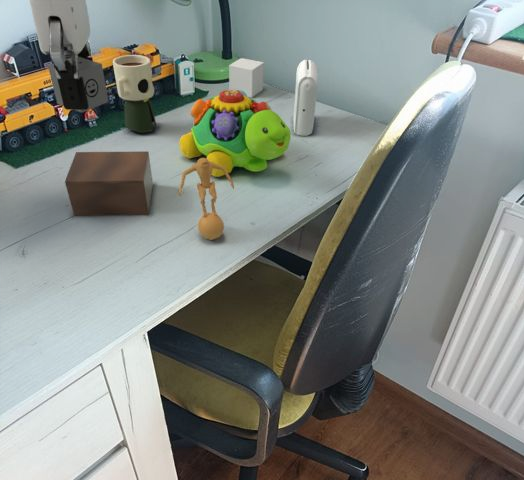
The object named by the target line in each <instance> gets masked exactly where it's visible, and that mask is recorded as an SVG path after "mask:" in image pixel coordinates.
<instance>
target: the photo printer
mask: <svg viewBox="0 0 524 480" xmlns="http://www.w3.org/2000/svg"><path fill="white" fill-rule="evenodd" d="M318 73H319V72H318V68H317V65H316V63H315V62H314V61H313V60H312V59H309V60H307V59H303V60H302V61H301V62H300V63H299V64H298V66H297V68H296V73H295V74H296V75H295V91H294V105H293V121H292V124H293V132H294V134H296V135H297V136H300V137H301V136H302V137H307V136H310V135H312V134H313V130H314V123H315V116H316V115H315V114H316V105H317V93H318V83H319V75H318Z"/></svg>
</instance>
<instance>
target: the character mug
mask: <svg viewBox="0 0 524 480" xmlns="http://www.w3.org/2000/svg"><path fill="white" fill-rule="evenodd" d="M112 65H113V66H112V67H113V71H114V78H115V83H116V91H117V95H118V97H119V98H120V99H122V100H124V104H123V105H124V126H125V128H126V129H127V130H130V131H132V132H136V133H147V132H151V131H154V128H157V122H156V117H155V112H154V109H153V106H152V105H153V104H152V102H151V98H153V96H154V95H155V87H154V84H153V79H152V78H153V70H152V63H151V59H150V58H149V57H147V56H145V55H140V54H125V55H120V56H117V57H115V58H113V60H112Z"/></svg>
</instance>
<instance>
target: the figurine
mask: <svg viewBox="0 0 524 480" xmlns="http://www.w3.org/2000/svg"><path fill="white" fill-rule="evenodd" d="M213 168H215V169H218V170H223V172H224V174H225V175H224V176H225V177H226V179H227V180H228V181H229V183H230V187H231V188H232V190H234V189H235V185H234V181H233V180H232V178H231V176H230V175H229V174H230V173H229V174H228V173H227V171H226V169H225V168H224V167H223V166H220V165H217V164H215V163H213V162H210V161H208V160H207V157H199V158H198V160H197V161H196V163H194V164H192V165H191V166H190V167H189V168H187V169H185V170H184V171H183V172H182V175H181V180H180V184H179V187H178V188H179V189H178V195H179V196H180V197H182V196H183V193H184V190H183V188H184V185H185V181H186V176H187V175H190V174H191V173H193V172H195V171H196V173H197V175H198V177H199V179H200V182H198V183H197V184H196V187H197V190H198V197H199V199H200V204H201V208H202V212H203V213H202V214H203V215H202V216H200V218H199V220H198V223H197V230H198V233H199V234H200V236H202V237H203V238H204V239H206V240H210V241H212V240H217V239H218V238H220V237H221V236H222V234H223V232H224V230H225V222H224V220H223V218H222V217H221V216H220V215H218V213H217V212H216V207H215V203H216V202H217V199H218V195H217V190H216V182H215V181H214V180H212V181H211V177H212V175H211V174H212V169H213ZM206 190H208V194H209V195H210V196H211V197H212V198H211V199H210V203H211V205H210V206H211V212H207V208H206V207H207V206H206V201H205V199H206V196H207V191H206Z"/></svg>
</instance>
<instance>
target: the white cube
mask: <svg viewBox="0 0 524 480" xmlns="http://www.w3.org/2000/svg"><path fill="white" fill-rule="evenodd" d="M264 69H265V62H264V61H258V60H253V59H249V58H243V57H240V58H239V59H237V60H235V61H234V62H232V63H230V64H229V65H228V84H229V85H228V86H229V89H228V90H229V91H231V90H241V91H244V92H245V93H246V95H247V97H248V98H251V99H253V98H254V97H256V96H257V95H258V94H259V93H261V92H262V91H263V90H264V74H265V73H264V72H265V71H264Z"/></svg>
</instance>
